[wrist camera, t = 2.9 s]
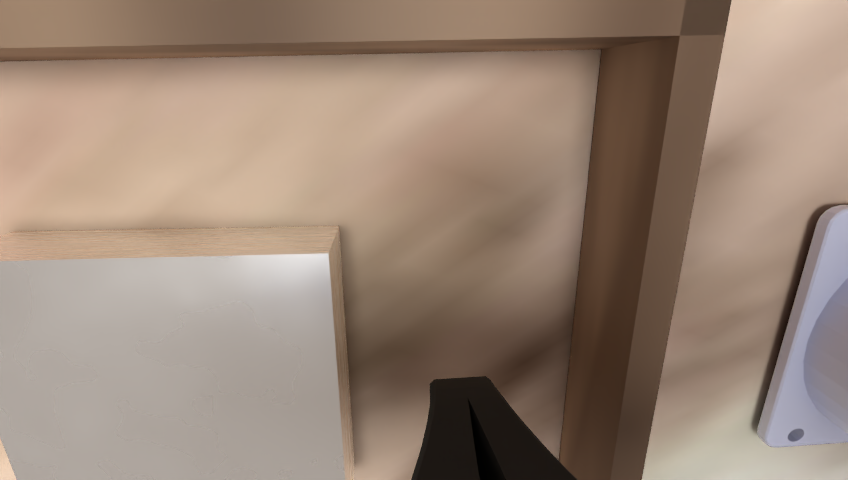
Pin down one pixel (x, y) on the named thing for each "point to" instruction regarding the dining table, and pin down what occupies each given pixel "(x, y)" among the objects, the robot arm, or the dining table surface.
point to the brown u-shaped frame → (610, 155)
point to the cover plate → (175, 354)
